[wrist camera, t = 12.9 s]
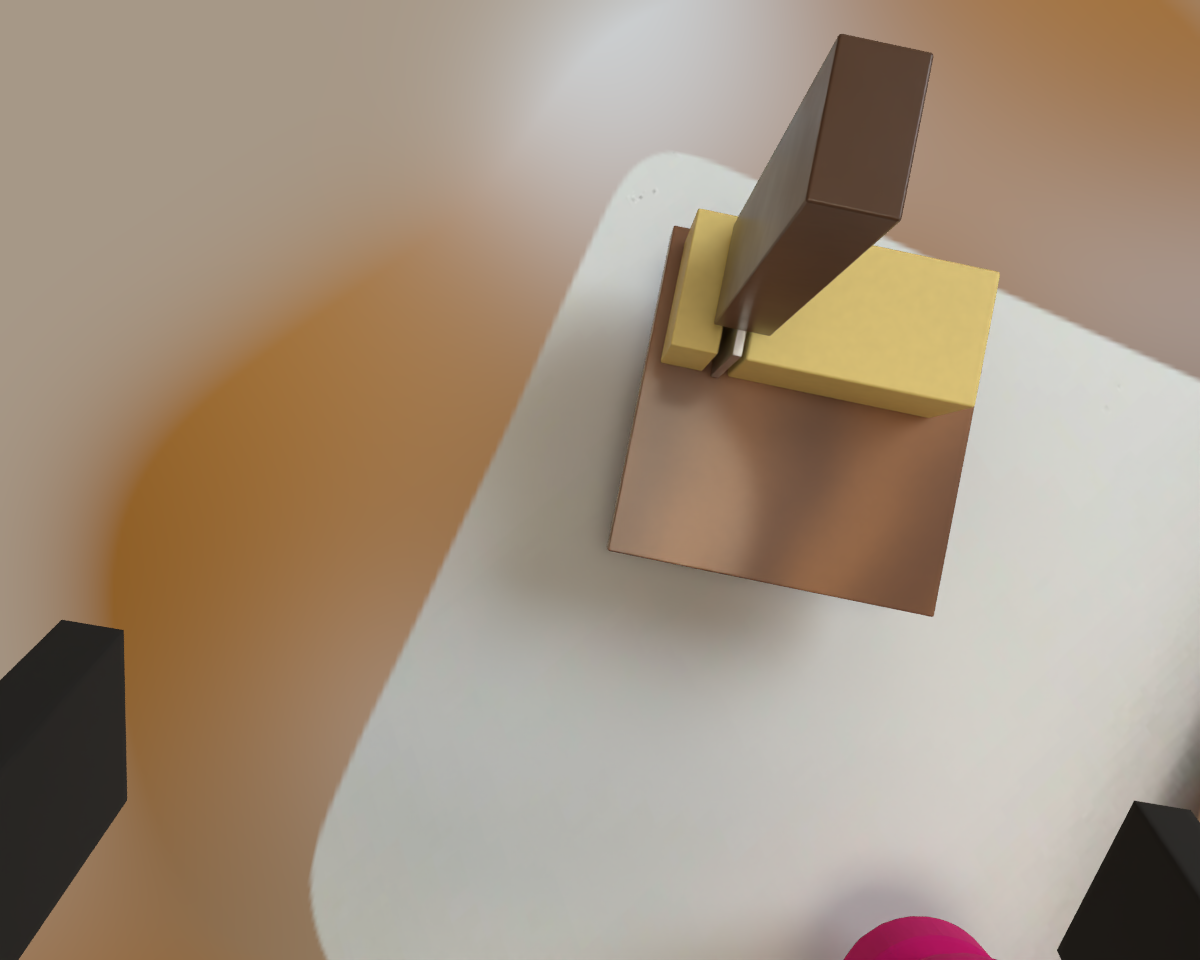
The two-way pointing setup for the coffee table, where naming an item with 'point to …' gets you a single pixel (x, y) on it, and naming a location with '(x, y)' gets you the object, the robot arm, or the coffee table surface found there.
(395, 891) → the coffee table surface
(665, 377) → the board
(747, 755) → the coffee table surface
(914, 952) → the pepper mill
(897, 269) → the butter
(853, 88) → the knife
